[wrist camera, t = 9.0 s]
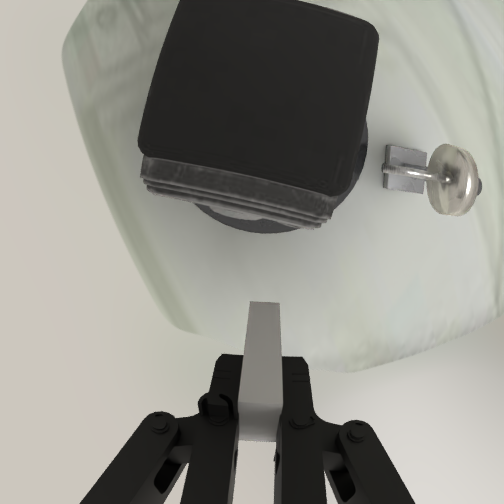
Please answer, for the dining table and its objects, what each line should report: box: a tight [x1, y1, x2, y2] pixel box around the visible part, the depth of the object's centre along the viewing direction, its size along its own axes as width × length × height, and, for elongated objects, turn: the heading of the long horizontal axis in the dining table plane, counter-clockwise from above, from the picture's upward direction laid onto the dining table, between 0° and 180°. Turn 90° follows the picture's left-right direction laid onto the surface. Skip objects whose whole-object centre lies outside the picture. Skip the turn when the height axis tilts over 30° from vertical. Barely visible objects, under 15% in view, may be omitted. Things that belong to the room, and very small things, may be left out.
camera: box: [138, 0, 379, 230], centre depth 16 cm, size 10×10×15 cm
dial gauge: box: [382, 144, 482, 216], centre depth 18 cm, size 4×8×12 cm, turn 88°
